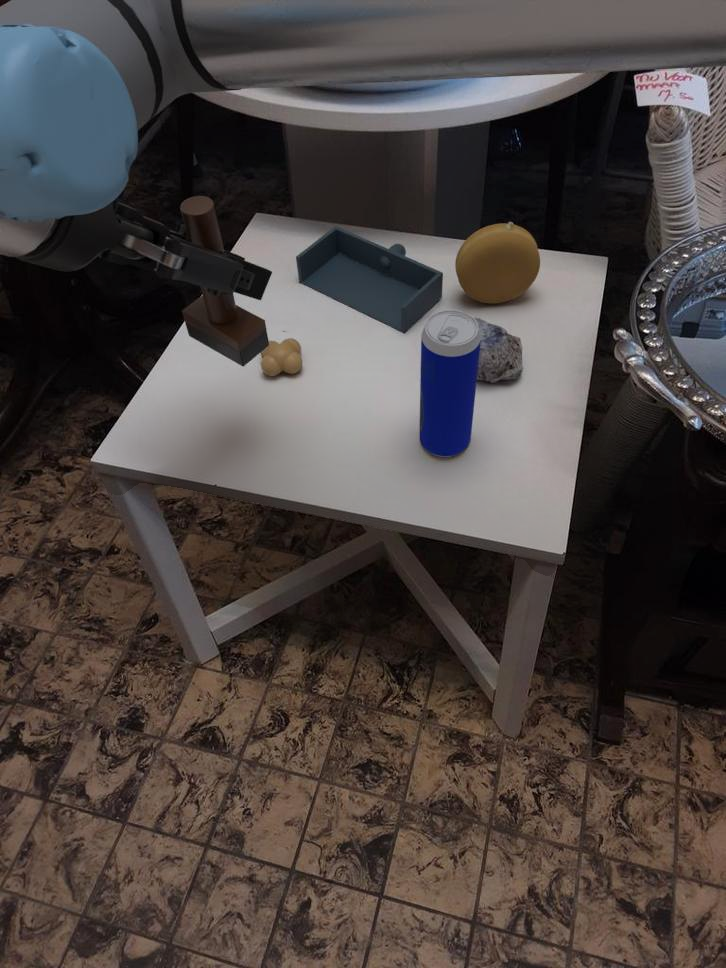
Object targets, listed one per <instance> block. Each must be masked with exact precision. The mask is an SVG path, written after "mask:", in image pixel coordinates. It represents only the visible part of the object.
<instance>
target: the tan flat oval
mask: <svg viewBox="0 0 726 968" xmlns="http://www.w3.org/2000/svg"><path fill="white" fill-rule="evenodd" d="M454 267H455V273H456V277H457V279H458V283H459V285H460V288H461V290H463V292H464V293H465V294H466V295H467V296H468V297H470V298H471V299H473V300H475V301H477V302H479V303H483V304H500V303H505V302H509V301H512V300H514V299H516V298H518V297H520V296H521V295H523V294H524V293H525V292H526V291H527V290H528V289H530V287H531V286H532V285H533V283H534V282H535V281H536V279H537V277H538V275H539V272H540V269H541V255H540V252H539V248H538V244H537V242H536V240H535V238H534V237H533V235H532V234H531V233H530V232H529V231H528V230H526V229H525V228H524V227H522V226H519V225H517V224H514V222H512V221H508V223H505V222H504V223H494V224H491V225H487V226H485V227H484V226H483V227H482V228H480V229H478V230H476V231H475V232H473V233H472V234H471V235H469V236H468V237H467V238H466V239H465V241H464V242H463V243H462V244H461V246H460V248H459V250H458V251H457V253H456V257H455V266H454Z"/></svg>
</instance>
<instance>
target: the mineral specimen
mask: <svg viewBox="0 0 726 968" xmlns="http://www.w3.org/2000/svg"><path fill="white" fill-rule="evenodd" d="M472 317H473V316H472ZM473 318H474V319H475V320H476V322H477V323H478V326H479V330H480V333H481V343H480V353H479V362H478V372H477V381H478V380H479V381H485V382H488V383H489V382H490V383H491V384H495V383H496V382H499V381H501V380H504V381H505V380H506V381H507V380H508V381H509V380H514V379H519V378H520V377H521V376H522V372H523V370H524V368H523V348H524V347H523V345H522V340H521V337H519V336H515V335H512V334H510V333H508V331H507V330H506V329H505V327H502V326H499V325H497V324H493V323H490V322H488V321H485V320H484V319H482V318H480V317H477V316H476V317H473Z"/></svg>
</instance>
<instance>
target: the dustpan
mask: <svg viewBox="0 0 726 968" xmlns="http://www.w3.org/2000/svg"><path fill="white" fill-rule="evenodd" d="M406 254H407V250H406V248H405V246H404V245H403V244H401V243H394V244H393V245H391V246H390V247H389V248H388V247H385V246H383V245H380V244H378V243H375V242H374V241H371V240H369V239H367V238H364V237H362V236H361V235H357V234H356V233H352V232H350V231H349V230H345V229H344V228H342V227H339V226H337V225H335V226H334V227H332V228H331V229H330V230H328V231H327V232H326V233H324V235H322V236H321V237H319V238H318V239H317V240H315V241H314V242H313V243H312V244H310V245H309V246H308V247H306V248H305V249H303V250H302V251H301V252H300V253H299V254H297V255H296V256H295V260H296V261H295V262H296V268H297V269H296V270H297V275H298V282H299V283H300V284H302V285H304V286H306V287H308V288H310V289H313V290H315V291H316V292H319V293H321V294H323V295H325V296H327V297H329V298H331V299H333V300H335V301H337V302H339V303H342V304H343V305H346V306H348V307H349V308H351V309H354V310H356V311H358V312H360V313H362V314H364V315H366V316H368V317H370V318H372V319H374V320H376V321H378V322H380V323H382V324H385V325H387V326H388V327H391V328H393V329H395V330H397V331H399V332H401V333H403V334H406V333H407V332H408V331H409V330H410V329H411V328H412V327H413V326H414V325H416V324H417V322H418V321H419V320H421V318H423V317H424V316H425V315H426V314H427V313H428V312H429V311H430V310H431V309H432V308H433V307H434V306H435V305H437V303H439V301H440V300H441V299H442V297H443V284H444V283H443V280H444V272H442V271H440V270H438V269H435V268H433V267H431V266H429V265H426V264H424V263H422V262H419V261H417V260H415V259H413V258H410V257H408V256H406Z"/></svg>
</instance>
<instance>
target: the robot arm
mask: <svg viewBox="0 0 726 968" xmlns="http://www.w3.org/2000/svg"><path fill="white" fill-rule="evenodd" d="M717 67H726V0H9V1H8V2H6V3H4V4H2V5H0V255H3V256H6V257H9V258H16V259H17V260H18V261H21V262H25V263H28V264H33V265H36V266H40V267H44V268H47V269H52V270H54V271H58V272H64V273H65V272H68V273H69V272H74V271H78V270H80V269H81V270H82V268H84V267H86V266H88V265H89V264H91V263H92V262H93V260H95V259H96V258H97V257H99V258H101V259H103V260H105V261H107V262H110V263H113V264H115V265H118V266H126V265H130V266H133V267H136V268H139V269H142V270H145V271H148V272H155V274H157V276H159V278H161V279H163V280H172V281H182V282H184V283H189V284H191V285H194V286H195V285H196V286H199V287H200V286H202V287H206V288H208V289H207V292H209V293H211V294H213V295H215V296H216V297H218V296H219V294H220V292H222V293H224V294H227V295H228V294H230V295H234V293H235V294H238V295H242V296H245V297H248V298H250V299H254V300H258V301H262V299H263V296H264V294H265V291H266V289H267V287H268V284H269V281H270V279H271V276H272V274H273V271H272V270H269V269H268V268H265V267H263V266H260V265H258V264H256V263H252V262H249V261H247V260H246V257H243V256H241V255H239V254H238V253H237V254H236V253H233V252H232V251H229V250H226V249H224V252H221V251H220V253H217V252H214V251H211V250H209V249H206V248H204V247H201V246H199V245H196V244H194V243H191V242H189V241H188V237H187V233H186V229H185V225H184V224H182V223H179V222H178V223H177V225H176V228H175V230H171V229H170V227H168V226H166V225H165V224H163V223H162V222H159V221H157V220H154V219H152V218H149V217H147V216H144V215H143V213H142V212H141V211H139V210H137V209H136V208H133V207H131V206H130V205H127V204H124V203H122V202H119V201H117V200H116V199H117V198H118V197H119V196H120V195H121V194H122V193H123V191H124V190H125V189H126V186H127V185H128V182H129V180H130V179H129V177H130V176H129V173H130V170H131V167H132V164H133V162H134V160H135V159H137V155H138V147H139V130H140V129H142V128H143V127H144V126H145V125H146V124H147V123H149V122H150V121H151V120H152V119H153V118H154V117H156V116H157V115H158V114H159V113H160V112H162V111H163V110H164V109H165V108H166V107H168V106H169V105H170V104H171V103H172V102H173V101H175V100H176V99H177V98H179V97H181V96H185V95H188V94H193V93H212V92H214V93H215V92H231V91H241V90H246V89H248V90H249V89H267V88H290V87H310V86H311V87H312V86H331V85H332V86H333V85H334V86H335V85H353V84H354V85H356V84H357V85H358V84H375V83H377V84H378V83H397V82H419V81H441V80H461V79H481V78H485V79H486V78H503V77H504V78H505V77H524V76H545V75H549V76H550V75H564V74H565V75H567V74H568V75H569V74H589V73H610V72H629V71H630V72H634V71H653V70H655V71H656V70H672V69H673V70H675V69H677V70H678V69H695V68H697V69H698V68H717Z"/></svg>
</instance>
